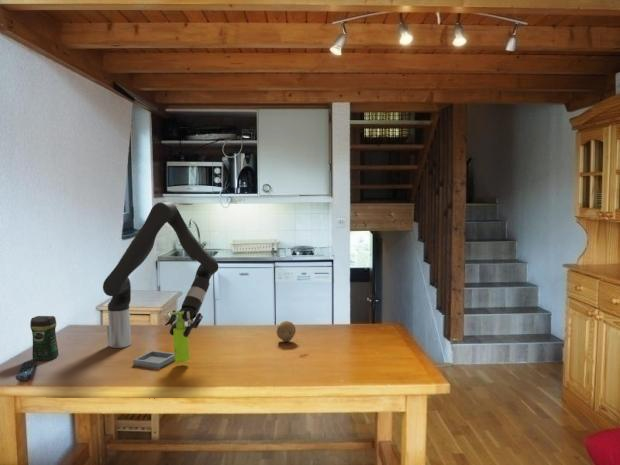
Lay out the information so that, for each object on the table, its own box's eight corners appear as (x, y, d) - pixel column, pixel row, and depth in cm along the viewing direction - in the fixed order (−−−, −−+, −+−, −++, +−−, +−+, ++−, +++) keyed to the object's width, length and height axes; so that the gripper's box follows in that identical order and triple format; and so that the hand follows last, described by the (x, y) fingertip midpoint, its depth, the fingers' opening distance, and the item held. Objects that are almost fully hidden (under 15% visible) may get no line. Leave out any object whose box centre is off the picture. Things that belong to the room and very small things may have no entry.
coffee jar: (61, 355, 212) (59, 313, 210) (50, 361, 204) (47, 318, 202) (41, 354, 213) (38, 313, 211) (29, 361, 205) (26, 318, 203)
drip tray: (133, 365, 199) (133, 359, 198) (152, 355, 210) (152, 350, 210) (159, 369, 194) (159, 363, 194) (177, 359, 205) (177, 353, 205)
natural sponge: (293, 345, 221) (292, 324, 220) (274, 344, 222) (273, 323, 221) (297, 339, 229) (297, 319, 228) (279, 338, 231) (279, 318, 230)
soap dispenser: (173, 357, 200) (171, 310, 198) (190, 356, 201) (188, 309, 199) (170, 362, 195) (168, 314, 192) (188, 361, 195) (186, 313, 193)
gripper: (175, 293, 204) (159, 329, 194) (205, 296, 199) (189, 332, 190) (183, 303, 210) (167, 337, 200) (212, 305, 205) (197, 341, 195)
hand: (178, 335), depth 195 cm, fingers closed on soap dispenser, 6 cm apart
